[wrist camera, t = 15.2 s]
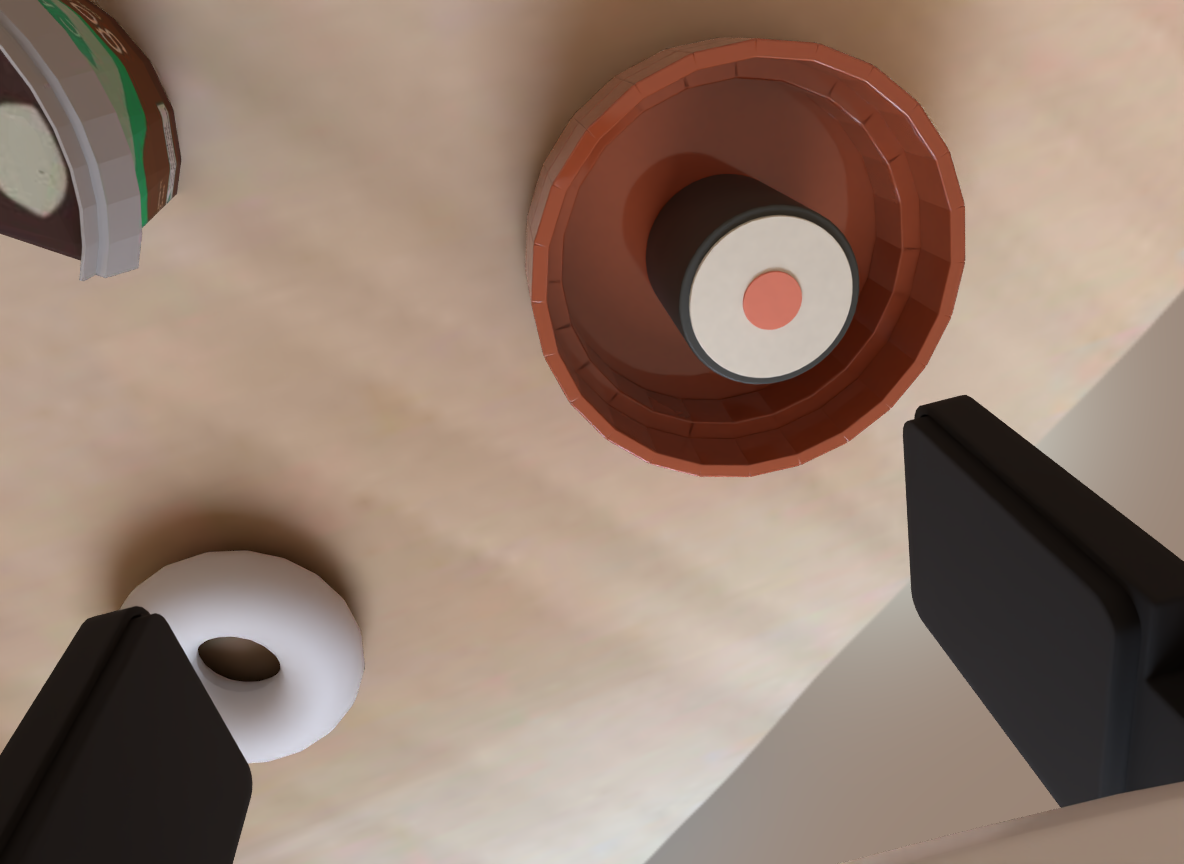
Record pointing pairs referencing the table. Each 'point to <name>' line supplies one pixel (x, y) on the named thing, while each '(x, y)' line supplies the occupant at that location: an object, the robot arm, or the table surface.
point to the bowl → (783, 162)
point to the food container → (81, 135)
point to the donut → (264, 644)
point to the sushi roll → (752, 278)
